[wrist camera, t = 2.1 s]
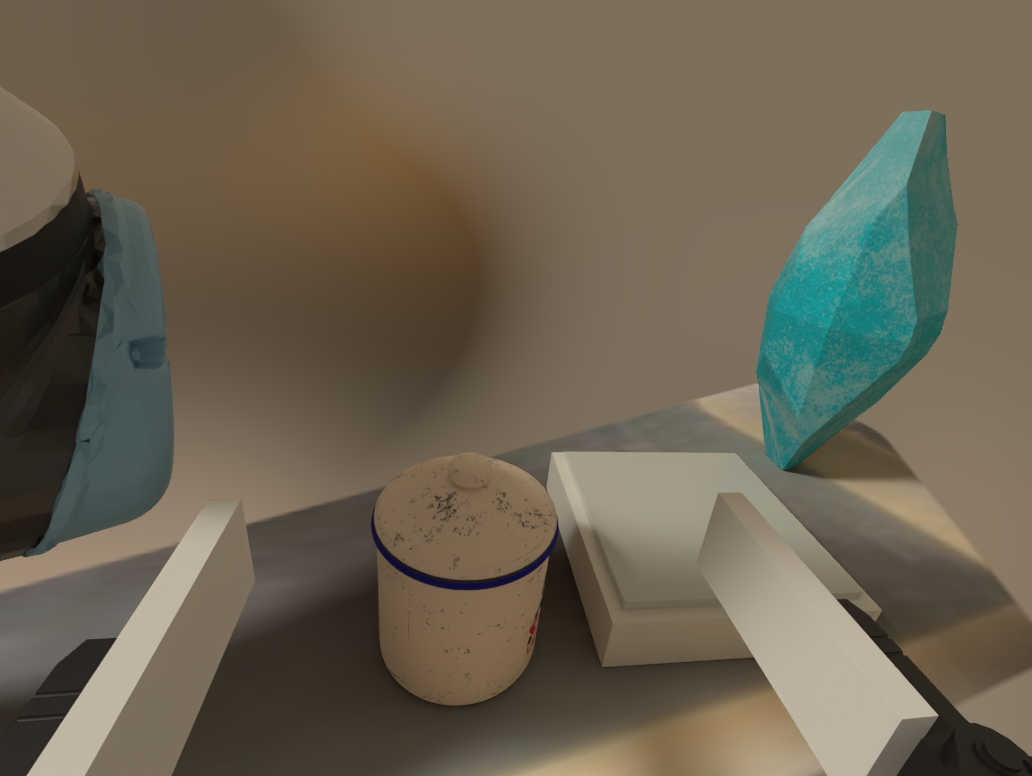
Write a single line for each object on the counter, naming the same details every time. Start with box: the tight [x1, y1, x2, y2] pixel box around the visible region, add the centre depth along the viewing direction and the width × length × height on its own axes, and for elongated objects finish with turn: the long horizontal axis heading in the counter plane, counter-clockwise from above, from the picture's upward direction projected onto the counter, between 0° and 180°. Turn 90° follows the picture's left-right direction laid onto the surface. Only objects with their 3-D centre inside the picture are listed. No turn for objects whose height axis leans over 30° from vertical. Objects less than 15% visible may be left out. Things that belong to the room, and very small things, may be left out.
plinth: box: [547, 452, 882, 667], centre depth 35 cm, size 16×16×4 cm
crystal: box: [756, 111, 958, 470], centre depth 43 cm, size 12×14×30 cm
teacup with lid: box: [371, 452, 558, 706], centre depth 27 cm, size 12×9×12 cm
